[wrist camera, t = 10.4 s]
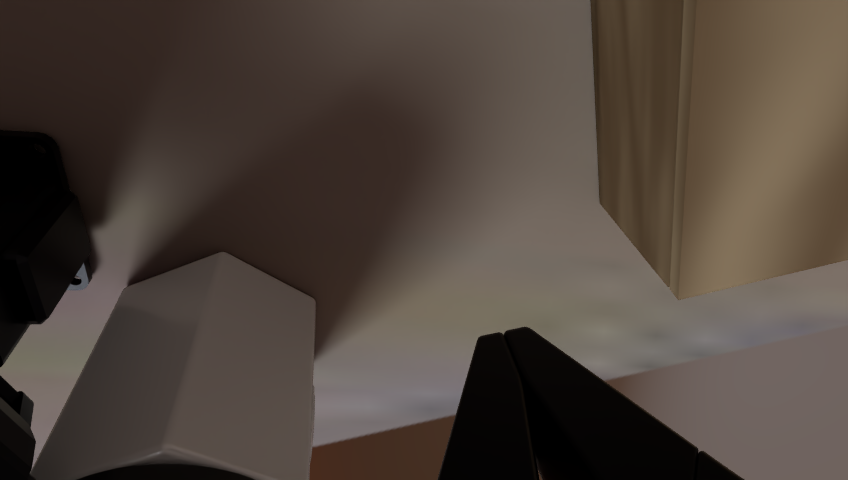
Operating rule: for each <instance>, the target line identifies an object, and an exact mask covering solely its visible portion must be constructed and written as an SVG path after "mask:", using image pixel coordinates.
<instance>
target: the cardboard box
mask: <svg viewBox="0 0 848 480" xmlns="http://www.w3.org/2000/svg"><path fill="white" fill-rule="evenodd" d="M683 7H684V0H591V21H592V43H593V65H594V87H595V109H596V132H597V154H598V176H599V198H600V204H601V205H602V207H603V208H604V209H605V210H606V211H607V213H608V214H609V215H610V216H611V218H612V219H613V220H614V221H615V223H616V224H617V225H618V226H619V227H620V229H621V230H622V231H623V232H624V234H625V235H626V236H627V237H628V239H629V240H630V241H631V242H632V243H633V245H634V246H635V247H636V248H637V250H638V251H639V252H640V253H641V255H642V256H643V257H644V258H645V259H646V261H647V262H648V263H649V264H650V266H651V267H652V268H653V269H654V271H655V272H656V273H657V274H658V275H659V277H660V278H661V279H662V280H663V282H664V283H665V284H666V285H667V287H670V272H671V251H672V231H673V211H674V190H675V170H676V150H677V129H678V109H679V88H680V68H681V48H682V27H683Z"/></svg>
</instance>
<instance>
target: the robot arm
mask: <svg viewBox="0 0 848 480" xmlns="http://www.w3.org/2000/svg"><path fill="white" fill-rule="evenodd" d="M34 144H38V145H40V146H42V147H43V148H44V149H45V151H46V153H42V152H39V151H38V150H36V148H35V147H34ZM90 252H91V248H90V244H89V240H88V236H87V232H86V229H85V225H84V221H83V217H82V213H81V209H80V205H79V201H78V198H77V196H76V195H75V194H74V193H73V192H72V191H70V189H69V185H68V181H67V177H66V173H65V170H64V166H63V162H62V158H61V154H60V151H59V147H58V145H57V143H56V141H55V140H54V139H53V138H52V137H50V136H48V135H46V134H44V133H39V132H22V131H3V130H0V367H1V366H2V365H3V364H4V363H5V361H6V360H7V358H8V357H9V355H10V354H11V352H12V351H13V349H14V348H15V346H16V345H17V343H18V342H19V341H20V339H21V338H22V336H23V335H24V333H25V332H26V330H27V329H28V327H29V326H30V324H42V323H43V322H44V321H45V320H46V319H48V318H49V316H50V315H51V313H52V312H53V310H54V309H55V307H56V305H57V304H58V302H59V301H60V299H61V298H62V296H63V295H64V293H65V291H66V290H82V289H84V288H86V287H87V286H88V284H89V282H90V281H91V279H92V272H91V268H90V264H89V261H88V256H89V254H90ZM75 276H78V277H80V278H81V279H76V278H74V277H75ZM33 406H34V403H33V401H32V400H31V399H30V398H28V397H27V396H26V395H25V394H24V393H23V392H22V391H19V392H17V391H16V390H15V389H14V388H13V387H12V386H11V385H10V384H9V383H8V382H6V381H5V380H4V379H3V378H2V377H1V376H0V480H36V479H35V477H33V476H32V475H31V474H30V471H31V469H32V463H33V457H34V450H35V444H36V441H35V438H34V436H33V433H32V431H31V428H30V427H31V420H32V413H33ZM538 470H539V473H540V475H541V477H542V480H744V479H743V478H741V477H740V476H738V475H737V474H735V473H734V472H732V471H731V470H729V469H728V468H727V467H725V466H723V465H722V464H721V463H720V462H718V461H717V460H715V459H714V458H712V457H711V456H710V455H708V454H707V453H706V452H704V451H700V452H699V453H698V448H697V447H695V446H694V445H693V444H691V443H690V442H689V441H687V440H686V439H684V438H683V437H682V436H680V435H679V434H678V433H676V432H675V431H673V430H672V429H671V428H669V427H668V426H666V425H665V424H663V423H662V422H661V421H659V420H658V419H656V418H655V417H654V416H652V415H651V414H649V413H648V412H647V411H645V410H644V409H642V408H641V407H639V406H638V405H637V404H635V403H634V402H633V401H631V400H630V399H628V398H627V397H626V396H624V395H623V394H621V393H620V392H619V391H617V390H616V389H614V388H613V387H612V386H610V385H609V384H607V383H606V382H605V381H603V380H602V379H600V378H599V377H598V376H596V375H595V374H593V373H592V372H591V371H589V370H588V369H586V368H585V367H584V366H582V365H581V364H579V363H578V362H577V361H575V360H574V359H572V358H571V357H570V356H568V355H567V354H565V353H564V352H563V351H561V350H560V349H558V348H557V347H556V346H554V345H553V344H551V343H550V342H549V341H547V340H546V339H544V338H543V337H542V336H540V335H539V334H537V333H536V332H535V331H533V330H532V329H530V328H528V327H521V328H516V329H512V330H507V331H506V332H505V333H504V335H503V334H502V333H500V332H497V333H493V334H488V335H483V336H480V337H479V338H478V340H477V343H476V346H475V350H474V353H473V357H472V360H471V364H470V367H469V371H468V374H467V378H466V381H465V385H464V388H463V392H462V395H461V399H460V402H459V406H458V409H457V413H456V416H455V420H454V424H453V427H452V430H451V434H450V437H449V441H448V444H447V448H446V451H445V455H444V458H443V462H442V466H441V469H440V472H439V476H438V480H539V475H538Z"/></svg>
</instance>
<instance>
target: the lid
mask: <svg viewBox="0 0 848 480" xmlns="http://www.w3.org/2000/svg"><path fill="white" fill-rule="evenodd" d="M845 260H848V0H684V7H683V27H682V48H681V68H680V88H679V109H678V129H677V150H676V170H675V190H674V211H673V231H672V251H671V272H670V290H671V291H672V292H673V294H674V295H675V297H676V298H677V299H678V300H681V299H685V298H689V297H694V296H698V295H702V294H706V293H710V292H715V291H719V290H723V289H727V288H731V287H736V286H740V285H744V284H748V283H752V282H757V281H761V280H765V279H769V278H773V277H778V276H782V275H786V274H790V273H794V272H799V271H803V270H807V269H811V268H816V267H820V266H824V265H828V264H832V263H837V262H841V261H845Z"/></svg>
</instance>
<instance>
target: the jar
mask: <svg viewBox="0 0 848 480" xmlns="http://www.w3.org/2000/svg"><path fill="white" fill-rule="evenodd" d="M315 321H316V301H315V299H314V298H312V297H310V296H308V295H306V294H305V293H303V292H301V291H299V290H297V289H295V288H293V287H291V286H289V285H287V284H285V283H283V282H281V281H280V280H278V279H276V278H274V277H272V276H270V275H268V274H266V273H264V272H262V271H260V270H259V269H257V268H255V267H253V266H251V265H249V264H247V263H245V262H243V261H241V260H240V259H238V258H236V257H234V256H232V255H230V254H228V253H226V252H219V253H216V254H214V255H211V256H208V257H206V258H203V259H200V260H198V261H195V262H192V263H189V264H187V265H184V266H181V267H179V268H176V269H173V270H171V271H168V272H165V273H163V274H160V275H157V276H155V277H152V278H149V279H147V280H144V281H141V282H138V283H136V284H133V285H130V286H128V287H126V288H124V290H123V291H122V293H121V295H120V297H119V299H118V301H117V303H116V305H115V307H114V309H113V311H112V313H111V315H110V317H109V319H108V321H107V323H106V325H105V327H104V329H103V331H102V332H101V334H100V336H99V338H98V340H97V342H96V344H95V346H94V348H93V350H92V352H91V354H90V356H89V358H88V360H87V362H86V364H85V366H84V368H83V370H82V372H81V374H80V376H79V378H78V380H77V382H76V384H75V386H74V388H73V390H72V392H71V394H70V395H69V397H68V399H67V401H66V403H65V405H64V407H63V409H62V411H61V413H60V415H59V417H58V419H57V421H56V423H55V425H54V427H53V429H52V431H51V433H50V435H49V437H48V439H47V441H46V443H45V445H44V447H43V449H42V451H41V453H40V454H39V456H38V458H37V460H36V462H35V464H34V466H33V468H32V470H31V472H30V474H31V475H32V476H33V477H35V479H36V480H309V467H310V465H309V464H310V460H311V453H312V444H313V433H314V415H315V395H314V386H313V370H314V345H315Z"/></svg>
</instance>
